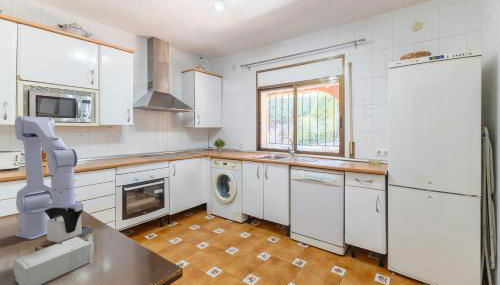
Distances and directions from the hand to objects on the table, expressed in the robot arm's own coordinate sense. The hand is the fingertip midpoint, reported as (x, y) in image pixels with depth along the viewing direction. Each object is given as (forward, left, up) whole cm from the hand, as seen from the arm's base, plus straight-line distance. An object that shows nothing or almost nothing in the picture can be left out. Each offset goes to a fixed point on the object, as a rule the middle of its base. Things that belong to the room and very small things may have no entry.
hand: (64, 230), depth 74 cm
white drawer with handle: (0, 0, -2) cm, 2 cm away
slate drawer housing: (-11, +9, -7) cm, 16 cm away
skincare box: (+9, 0, -4) cm, 10 cm away
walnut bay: (-1, 0, -7) cm, 7 cm away
